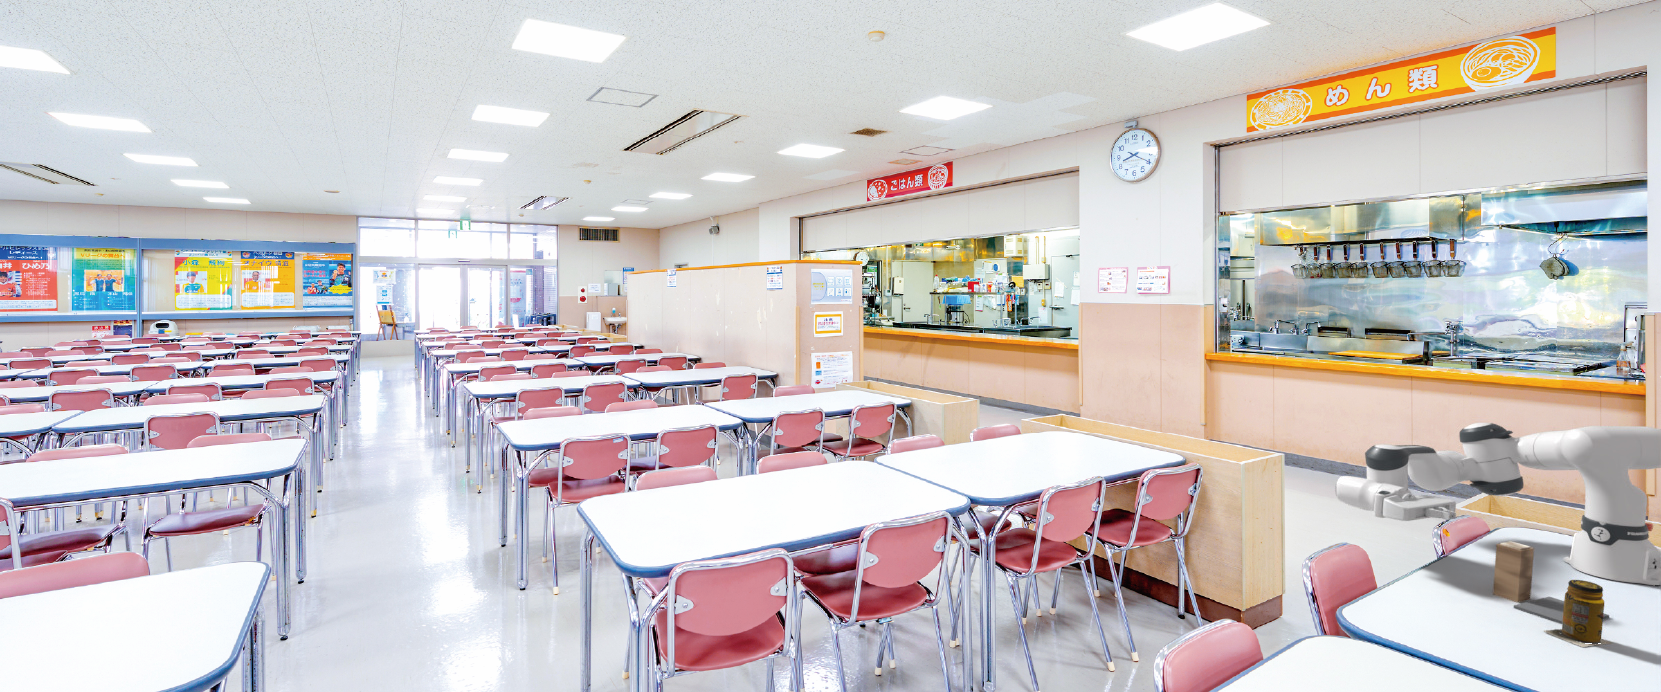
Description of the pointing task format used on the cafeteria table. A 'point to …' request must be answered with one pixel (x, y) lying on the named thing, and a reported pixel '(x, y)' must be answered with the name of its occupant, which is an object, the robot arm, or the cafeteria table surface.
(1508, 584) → the block
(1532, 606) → the mat
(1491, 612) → the cafeteria table surface
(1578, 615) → the condiment
